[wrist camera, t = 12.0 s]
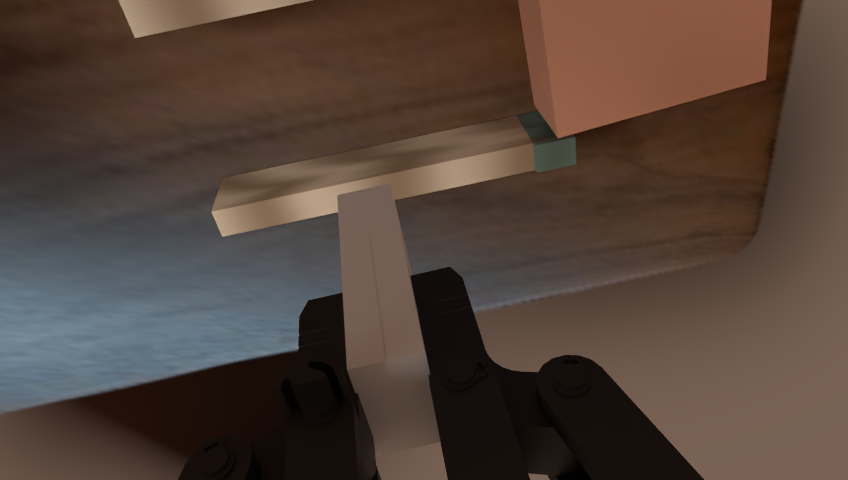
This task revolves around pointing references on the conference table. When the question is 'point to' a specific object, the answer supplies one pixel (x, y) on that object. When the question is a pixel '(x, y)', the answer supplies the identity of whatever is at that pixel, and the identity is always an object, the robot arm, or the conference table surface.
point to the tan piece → (363, 168)
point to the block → (638, 55)
